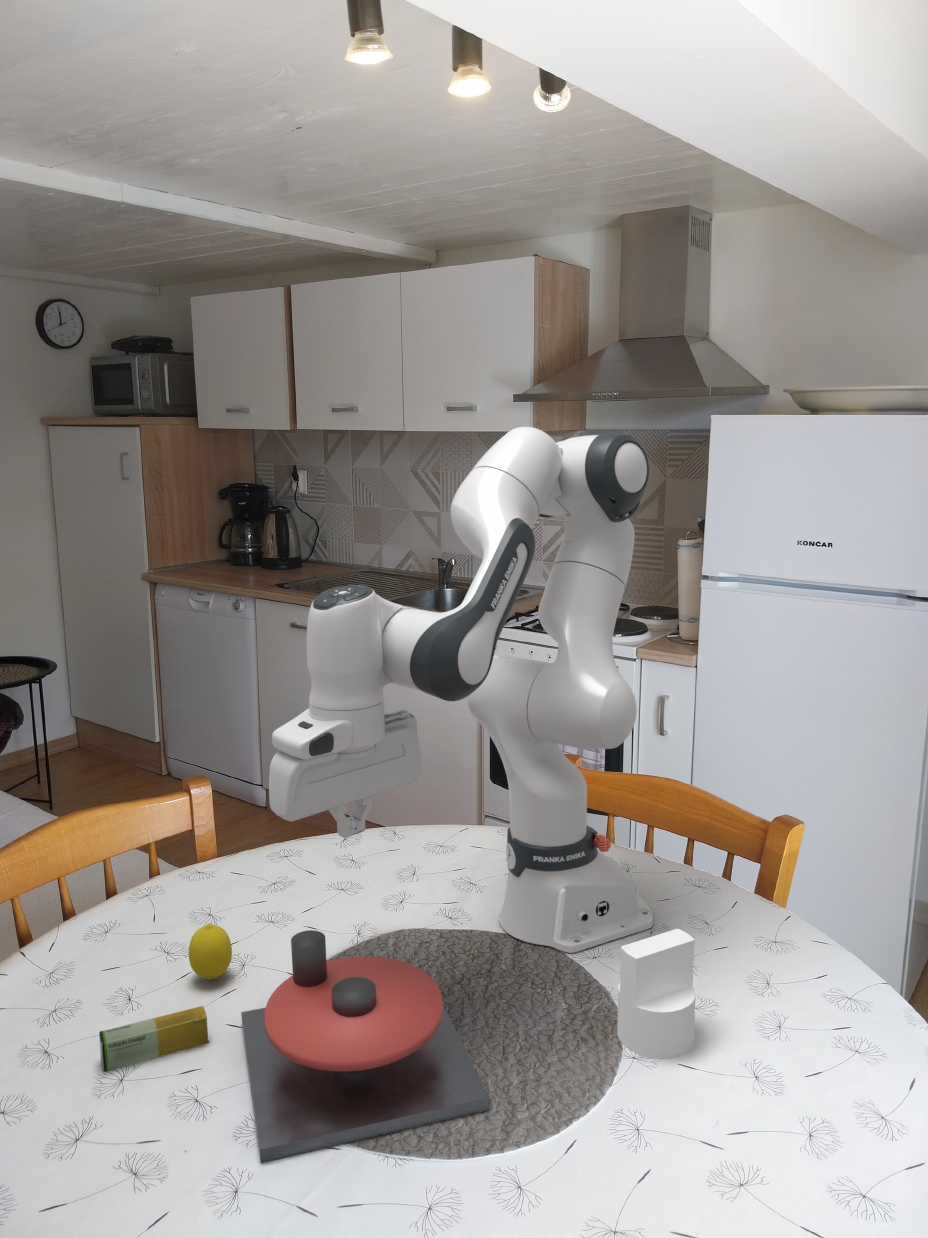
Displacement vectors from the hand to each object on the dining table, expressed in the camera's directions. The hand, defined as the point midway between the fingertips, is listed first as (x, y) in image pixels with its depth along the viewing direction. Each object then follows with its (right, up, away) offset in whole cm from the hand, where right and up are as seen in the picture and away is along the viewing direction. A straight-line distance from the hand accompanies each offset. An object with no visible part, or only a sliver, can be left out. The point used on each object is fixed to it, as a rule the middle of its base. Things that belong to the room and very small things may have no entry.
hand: (351, 833), depth 116 cm
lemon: (-20, -22, +11) cm, 32 cm away
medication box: (-23, -25, -3) cm, 34 cm away
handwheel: (+1, -19, -7) cm, 20 cm away
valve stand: (+1, -25, -6) cm, 26 cm away
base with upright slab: (+36, -24, -1) cm, 44 cm away
